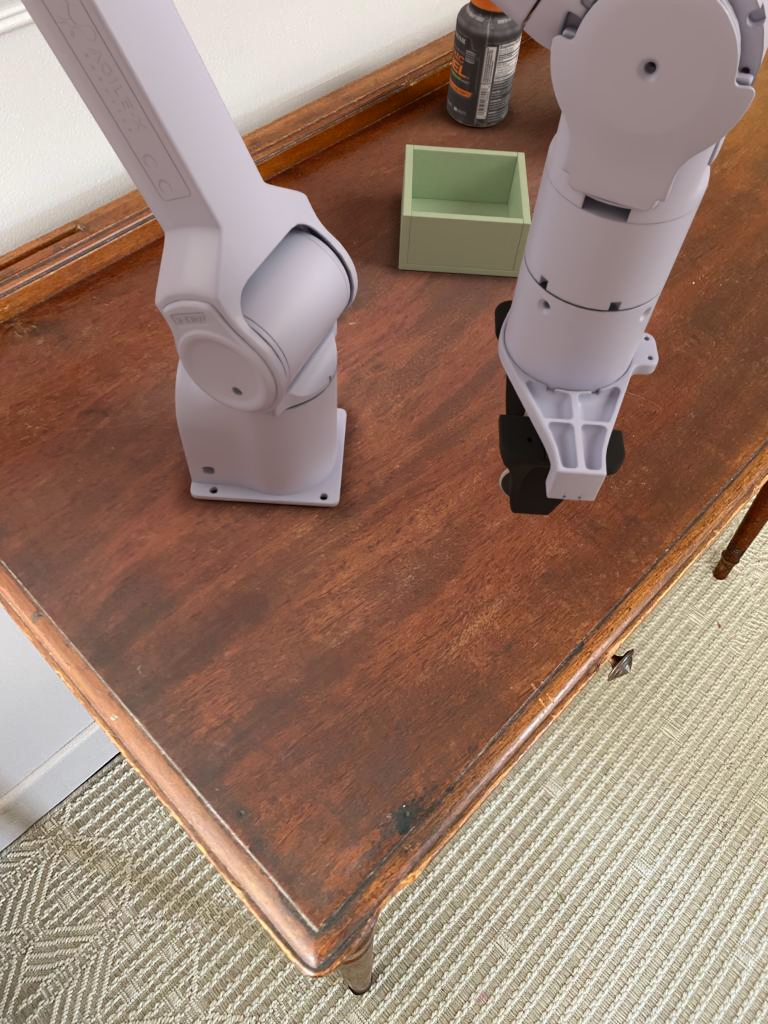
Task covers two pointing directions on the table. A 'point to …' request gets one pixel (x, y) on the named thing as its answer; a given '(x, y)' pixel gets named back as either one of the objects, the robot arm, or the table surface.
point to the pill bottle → (482, 64)
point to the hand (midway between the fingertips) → (527, 465)
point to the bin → (464, 211)
